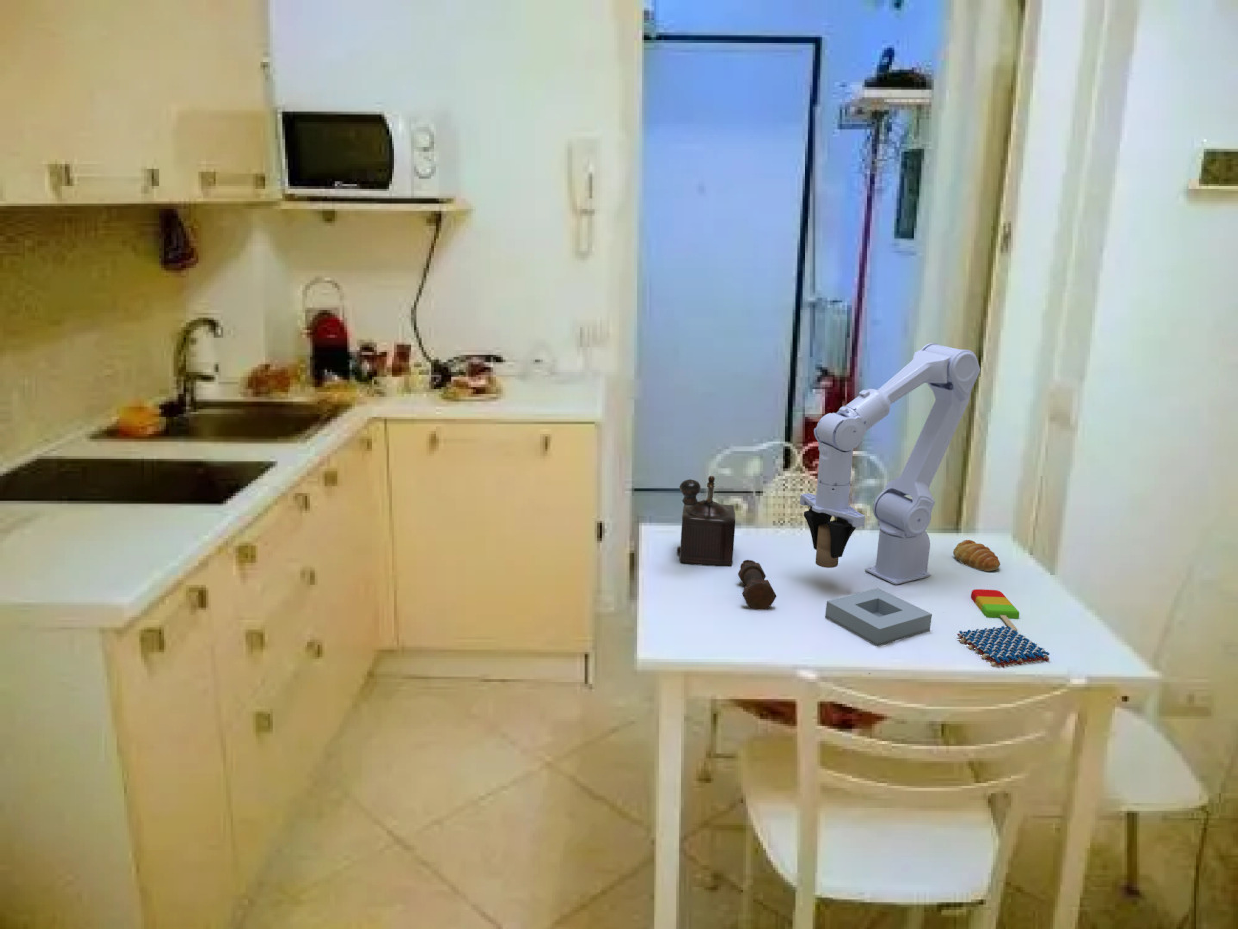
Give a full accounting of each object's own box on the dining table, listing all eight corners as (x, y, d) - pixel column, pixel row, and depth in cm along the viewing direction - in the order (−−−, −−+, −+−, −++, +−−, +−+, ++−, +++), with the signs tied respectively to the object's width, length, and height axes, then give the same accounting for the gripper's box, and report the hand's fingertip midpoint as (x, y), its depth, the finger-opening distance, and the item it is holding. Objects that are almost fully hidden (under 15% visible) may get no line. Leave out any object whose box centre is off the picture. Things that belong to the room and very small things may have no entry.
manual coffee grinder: (677, 544, 186) (681, 460, 181) (732, 547, 185) (737, 462, 180) (675, 573, 171) (678, 482, 166) (734, 577, 170) (739, 485, 165)
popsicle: (999, 598, 164) (1000, 589, 164) (1031, 636, 150) (1032, 625, 150) (968, 597, 165) (969, 588, 164) (997, 634, 150) (998, 624, 150)
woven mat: (1006, 634, 151) (1008, 623, 150) (1051, 664, 141) (1053, 652, 140) (952, 640, 148) (953, 629, 148) (994, 671, 138) (995, 659, 138)
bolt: (751, 585, 172) (762, 617, 157) (729, 572, 171) (738, 603, 156) (768, 560, 170) (781, 590, 156) (745, 547, 170) (756, 575, 155)
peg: (827, 558, 168) (830, 522, 166) (842, 565, 165) (845, 529, 163) (810, 561, 166) (813, 526, 164) (825, 569, 163) (829, 532, 161)
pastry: (1008, 571, 177) (1011, 553, 176) (980, 575, 174) (983, 557, 173) (975, 554, 185) (977, 536, 184) (947, 558, 183) (950, 540, 182)
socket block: (876, 603, 160) (877, 587, 159) (929, 630, 150) (932, 614, 149) (825, 617, 154) (826, 601, 153) (877, 646, 144) (879, 629, 143)
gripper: (789, 473, 165) (784, 543, 169) (846, 495, 153) (839, 570, 157) (818, 468, 169) (813, 537, 173) (876, 489, 157) (869, 562, 161)
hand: (827, 552), depth 165 cm, fingers closed on peg, 4 cm apart
